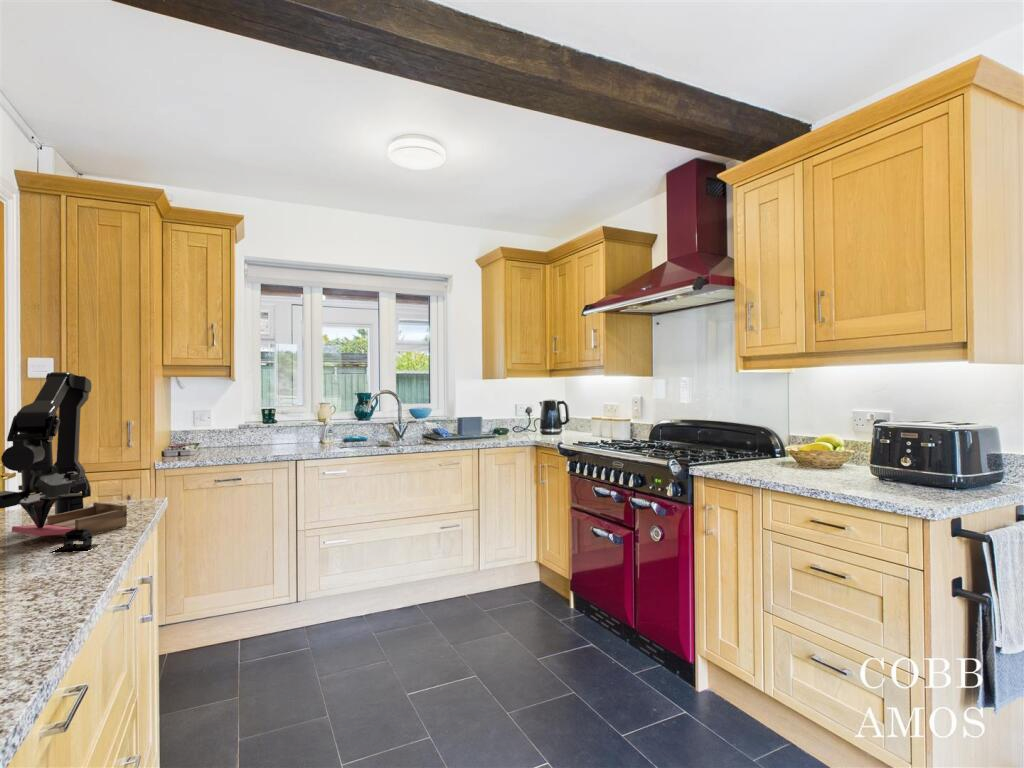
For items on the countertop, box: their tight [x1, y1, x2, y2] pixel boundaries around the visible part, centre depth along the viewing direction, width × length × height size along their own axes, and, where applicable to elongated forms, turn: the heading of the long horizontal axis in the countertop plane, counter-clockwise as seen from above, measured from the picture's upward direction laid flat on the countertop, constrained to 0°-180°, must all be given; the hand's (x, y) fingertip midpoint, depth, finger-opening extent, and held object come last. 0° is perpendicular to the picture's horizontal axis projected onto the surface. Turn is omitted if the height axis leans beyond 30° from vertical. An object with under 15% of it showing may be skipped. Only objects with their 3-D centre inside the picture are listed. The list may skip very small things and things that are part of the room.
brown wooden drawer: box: [46, 501, 128, 537], centre depth 140 cm, size 11×12×6 cm
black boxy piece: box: [49, 529, 100, 554], centre depth 125 cm, size 12×7×5 cm, turn 99°
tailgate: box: [11, 524, 75, 539], centre depth 130 cm, size 10×2×8 cm
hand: (40, 527), depth 130 cm, fingers closed, pressing on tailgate
